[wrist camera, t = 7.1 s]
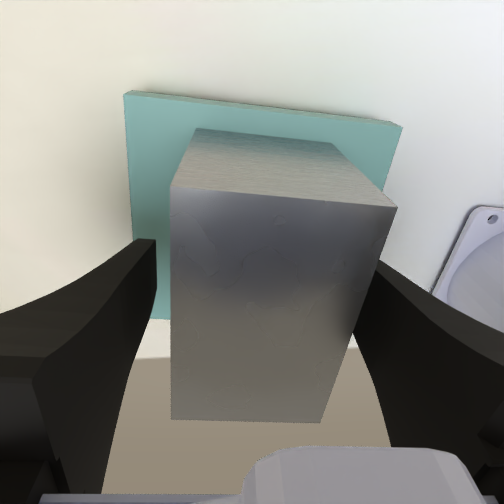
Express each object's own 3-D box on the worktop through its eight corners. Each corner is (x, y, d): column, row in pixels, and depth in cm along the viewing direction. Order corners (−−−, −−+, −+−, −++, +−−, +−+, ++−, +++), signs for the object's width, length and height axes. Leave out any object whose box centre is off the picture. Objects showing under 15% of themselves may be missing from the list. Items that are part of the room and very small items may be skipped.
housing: (289, 323, 17) (313, 440, 12) (189, 318, 17) (171, 437, 12) (331, 142, 13) (397, 207, 8) (196, 127, 12) (169, 186, 7)
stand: (378, 115, 15) (402, 127, 13) (325, 298, 20) (337, 328, 18) (140, 86, 14) (123, 94, 12) (149, 286, 19) (138, 317, 17)
